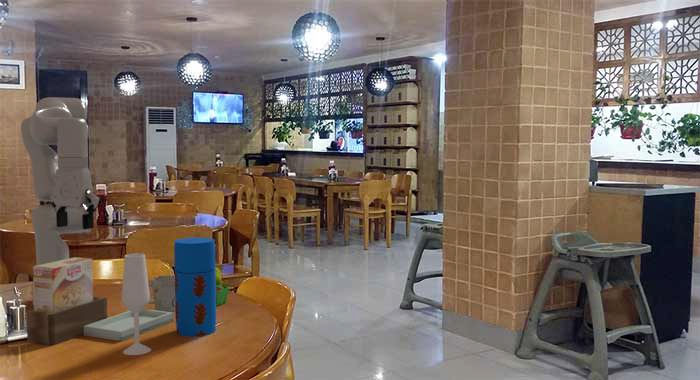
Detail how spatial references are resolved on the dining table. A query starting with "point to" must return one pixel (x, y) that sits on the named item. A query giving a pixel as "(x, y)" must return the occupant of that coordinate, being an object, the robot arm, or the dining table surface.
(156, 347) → the dining table surface
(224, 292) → the fruit basket
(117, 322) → the tray
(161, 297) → the mug
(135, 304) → the champagne flute
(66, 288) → the coffeecake box
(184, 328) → the thermos
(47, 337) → the holder
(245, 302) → the dining table surface
